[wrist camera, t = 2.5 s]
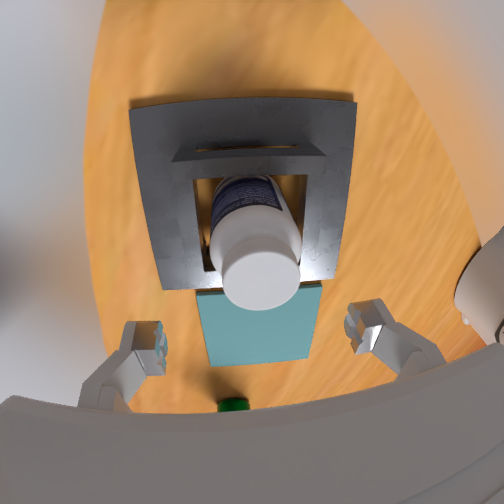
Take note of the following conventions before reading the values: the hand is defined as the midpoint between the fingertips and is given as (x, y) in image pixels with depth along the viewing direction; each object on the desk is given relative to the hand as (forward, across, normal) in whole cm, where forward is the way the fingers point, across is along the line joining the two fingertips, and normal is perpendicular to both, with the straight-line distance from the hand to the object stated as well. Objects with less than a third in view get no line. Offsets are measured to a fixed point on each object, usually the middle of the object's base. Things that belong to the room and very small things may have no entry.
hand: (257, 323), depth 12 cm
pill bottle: (+13, -1, 0) cm, 13 cm away
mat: (+13, -2, +15) cm, 20 cm away
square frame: (+12, -1, 0) cm, 12 cm away
